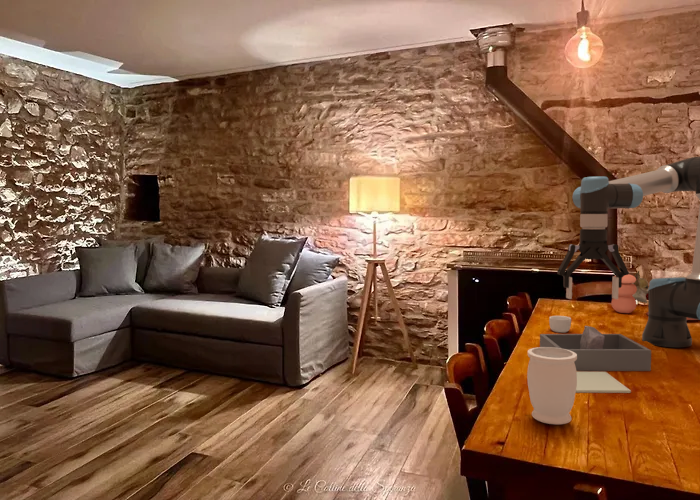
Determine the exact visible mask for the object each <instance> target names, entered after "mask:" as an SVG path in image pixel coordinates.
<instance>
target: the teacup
mask: <svg viewBox="0 0 700 500" xmlns="http://www.w3.org/2000/svg"><path fill="white" fill-rule="evenodd" d="M548 322H549V327H550V330H551V331H552V332H554V333H557V334H567V333H568V332H569V331H570V330H571V324H572V318H571V316H566V315H565V316H564V315H552V316H551V315H550V316H549V320H548Z"/></svg>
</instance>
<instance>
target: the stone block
mask: <svg viewBox="0 0 700 500" xmlns="http://www.w3.org/2000/svg"><path fill="white" fill-rule="evenodd" d="M581 334H582V337H581V341H580V345H581V348H580V349H603V345H604V340H605V336H604V335H603V334H604V333H601V332H600V331H599V330H598V329H597V328H596V327H593V326H589V325H585V326H584V329H583V332H582V333H581Z"/></svg>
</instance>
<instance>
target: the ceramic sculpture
mask: <svg viewBox="0 0 700 500" xmlns="http://www.w3.org/2000/svg"><path fill="white" fill-rule="evenodd" d="M633 276H634V277H635V278H636V281H635V282H634V283H632V284H634V285H635V286H636V288H637V291H636V293H635V294H633V295H632V296H633V297H634V298H635V300H636V302H641V303H645V304H646V303H647V304H648V300H647V297H646V296H647V294H648V289H649V281H648V280H647V279H646V278H643V277H641V275H640V270H638V271H637V272H636V273H635V275H633Z"/></svg>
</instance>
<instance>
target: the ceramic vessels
mask: <svg viewBox="0 0 700 500" xmlns="http://www.w3.org/2000/svg"><path fill="white" fill-rule="evenodd" d="M634 276H635V275H632V274H630V273H629V274H628V275H625V276H623V277H622V286H621V288H619V289H618V299H614V298H611V307H612V308H613V310H615V311H616V312H617V313H622V314H630V313H632V312H633V311H635V310H636V308H637V300H635V298H634V297H633V296H632V295H633V294H635V293H636V291H637V288H636V286H635V285H634V284H632V283H634V282H635V281H636V278H635V277H634ZM613 277H616V276H615V275H614V276H613ZM646 315H648V311H647V312H646ZM697 320H698V319H693V318H688V317H687V318H686V321H697Z"/></svg>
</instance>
